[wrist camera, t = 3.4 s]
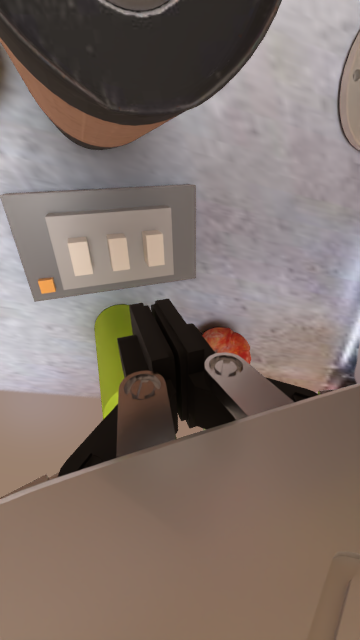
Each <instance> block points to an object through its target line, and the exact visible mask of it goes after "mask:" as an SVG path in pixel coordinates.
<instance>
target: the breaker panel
mask: <svg viewBox="0 0 360 640" xmlns="http://www.w3.org/2000/svg"><path fill="white" fill-rule="evenodd" d="M0 197H1V200H2V203H3V206H4V210H5V213H6V216H7V219H8V222H9V225H10V228H11V231H12V234H13V237H14V240H15V243H16V246H17V249H18V252H19V255H20V258H21V262H22V265H23V268H24V271H25V274H26V277H27V280H28V283H29V286H30V289H31V292H32V295H33V298H34V301H35V302H36V301H43V300H49V299H56V298H63V297H70V296H77V295H83V294H90V293H97V292H104V291H111V290H118V289H124V288H131V287H138V286H145V285H152V284H158V283H165V282H172V281H179V280H186V279H192V278H196V185H190V184H183V185H164V186H144V187H125V188H106V189H86V190H67V191H48V192H28V193H9V194H3V195H1V196H0Z"/></svg>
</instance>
